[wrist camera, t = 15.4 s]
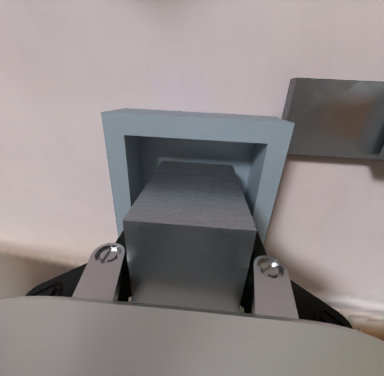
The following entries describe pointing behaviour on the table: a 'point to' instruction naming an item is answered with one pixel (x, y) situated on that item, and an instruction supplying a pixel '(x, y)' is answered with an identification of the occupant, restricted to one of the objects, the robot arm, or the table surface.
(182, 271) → the metal block
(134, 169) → the cradle
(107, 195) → the table surface
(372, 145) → the rail
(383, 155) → the wooden block
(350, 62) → the table surface
